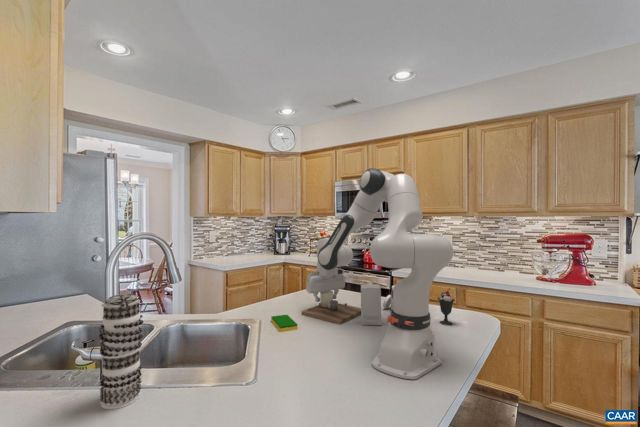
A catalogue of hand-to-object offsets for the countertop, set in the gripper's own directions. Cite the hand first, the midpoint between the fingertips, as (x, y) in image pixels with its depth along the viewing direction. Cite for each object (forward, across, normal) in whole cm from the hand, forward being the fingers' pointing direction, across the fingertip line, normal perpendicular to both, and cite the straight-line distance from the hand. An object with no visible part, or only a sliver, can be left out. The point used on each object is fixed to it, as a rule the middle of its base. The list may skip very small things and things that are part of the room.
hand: (326, 300), depth 151 cm
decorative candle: (+5, -83, -34) cm, 89 cm away
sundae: (+5, +32, -42) cm, 53 cm away
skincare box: (+5, +6, -25) cm, 26 cm away
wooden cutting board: (+5, 0, -6) cm, 8 cm away
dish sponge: (+5, -26, -8) cm, 28 cm away
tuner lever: (+3, 0, -3) cm, 4 cm away
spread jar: (+5, +27, -19) cm, 33 cm away
